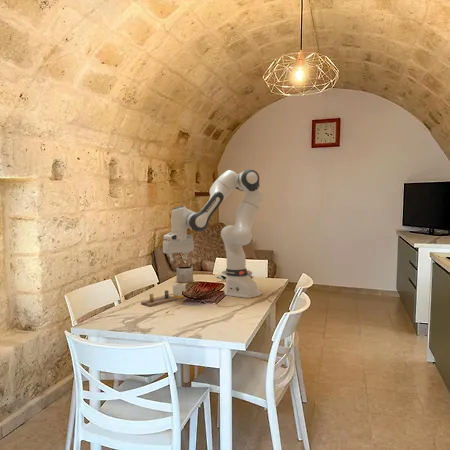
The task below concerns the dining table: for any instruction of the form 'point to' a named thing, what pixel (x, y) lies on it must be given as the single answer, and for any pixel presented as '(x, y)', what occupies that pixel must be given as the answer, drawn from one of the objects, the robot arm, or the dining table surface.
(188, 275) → the planter
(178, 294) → the sleeve
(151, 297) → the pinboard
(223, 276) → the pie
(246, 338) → the dining table surface
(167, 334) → the dining table surface
